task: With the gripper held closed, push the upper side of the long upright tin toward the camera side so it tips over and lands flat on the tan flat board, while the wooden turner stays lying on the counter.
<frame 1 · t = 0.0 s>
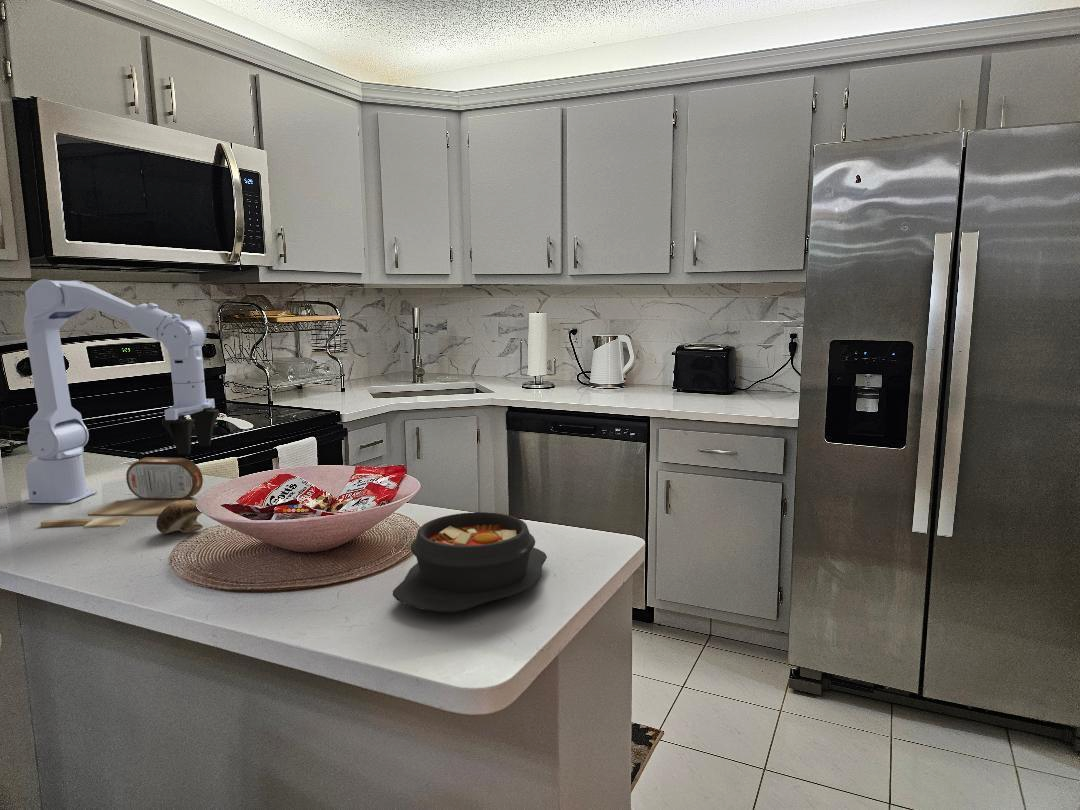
hand: (194, 449, 141), 10 cm above the countertop, fingers open, 7 cm apart
turner: (87, 524, 128), on the countertop
tan flat board: (145, 508, 137), on the countertop
mushroom: (182, 533, 123), on the countertop
tin: (165, 500, 143), on the countertop
casserole: (474, 587, 98), on the countertop
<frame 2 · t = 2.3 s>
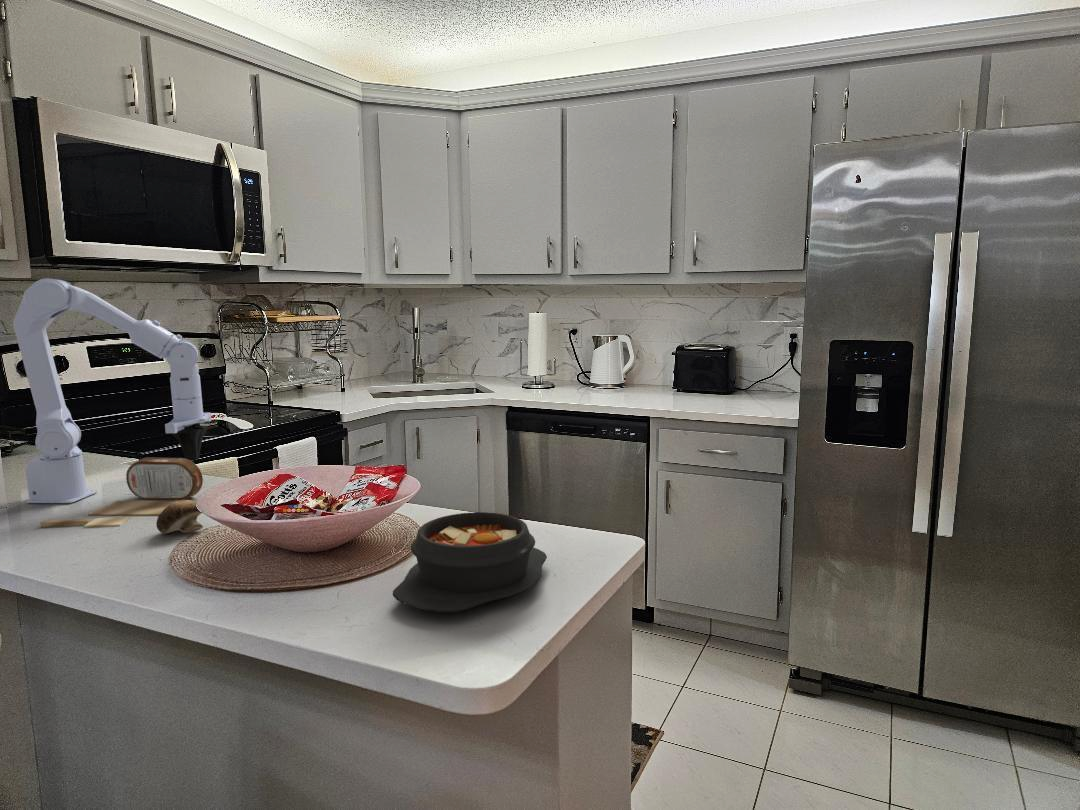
hand: (192, 460, 153), 5 cm above the countertop, fingers closed
nothing on the countertop moved.
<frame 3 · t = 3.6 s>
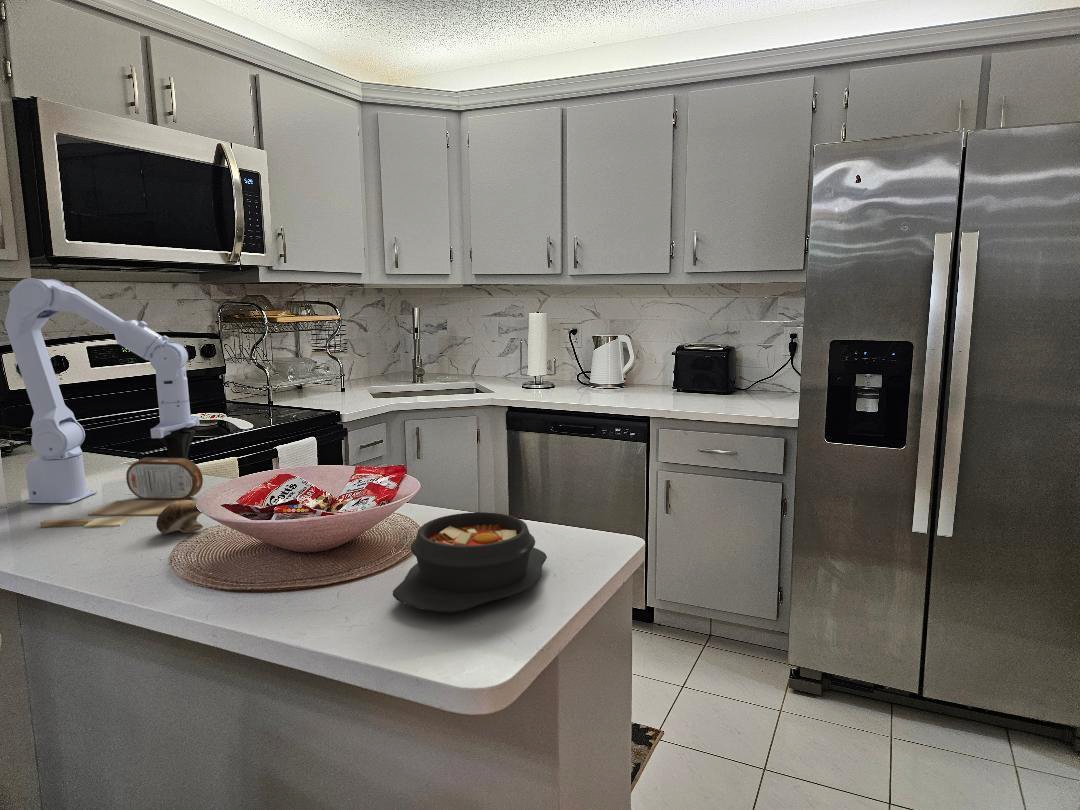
hand: (179, 465, 148), 5 cm above the countertop, fingers closed
nothing on the countertop moved.
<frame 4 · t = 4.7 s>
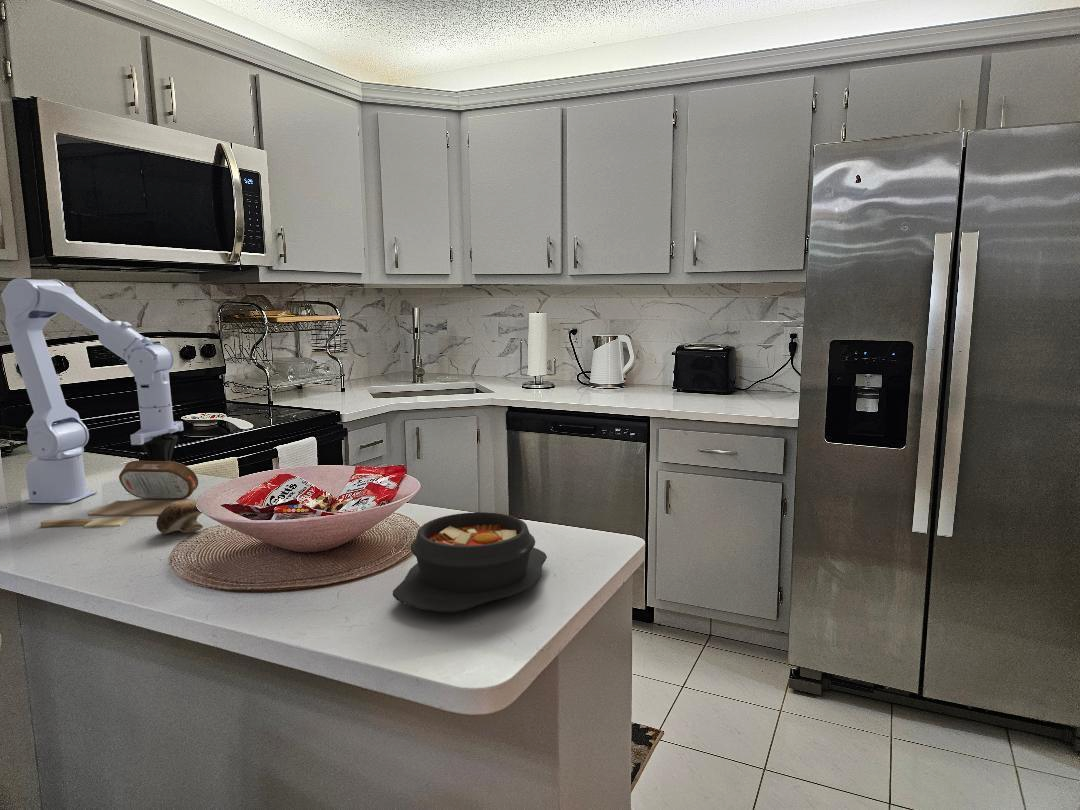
hand: (162, 472, 142), 5 cm above the countertop, fingers closed
tin: (165, 497, 143), on the countertop, touching gripper
everything else where it was.
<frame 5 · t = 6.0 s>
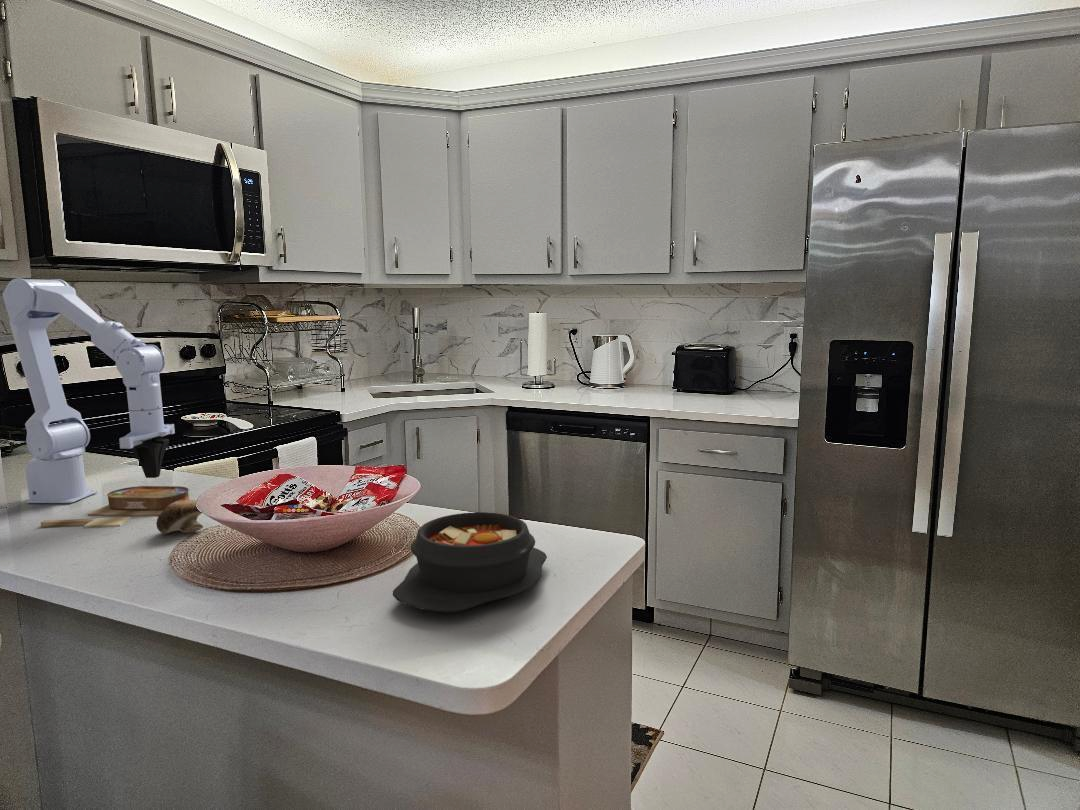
hand: (152, 477, 139), 5 cm above the countertop, fingers closed
tin: (162, 493, 142), point 1 cm above the countertop, touching tan flat board
everything else where it was.
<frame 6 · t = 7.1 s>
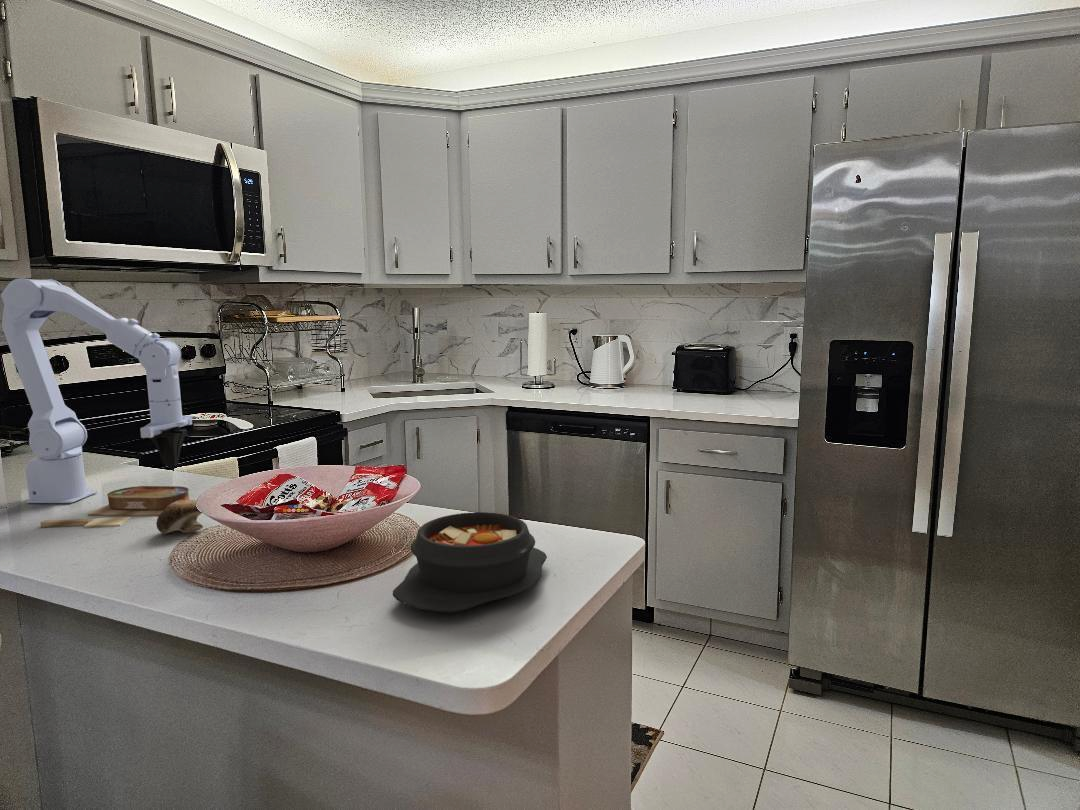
hand: (171, 465, 145), 6 cm above the countertop, fingers closed
nothing on the countertop moved.
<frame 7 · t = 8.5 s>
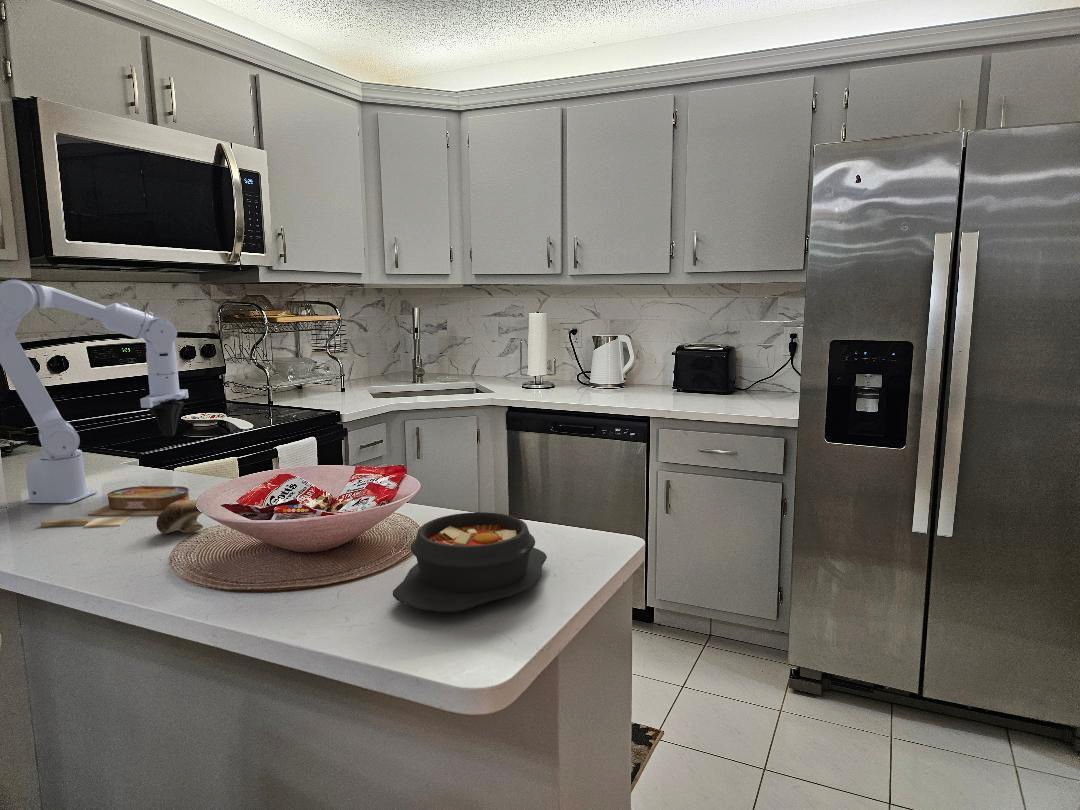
hand: (169, 435, 155), 10 cm above the countertop, fingers closed
nothing on the countertop moved.
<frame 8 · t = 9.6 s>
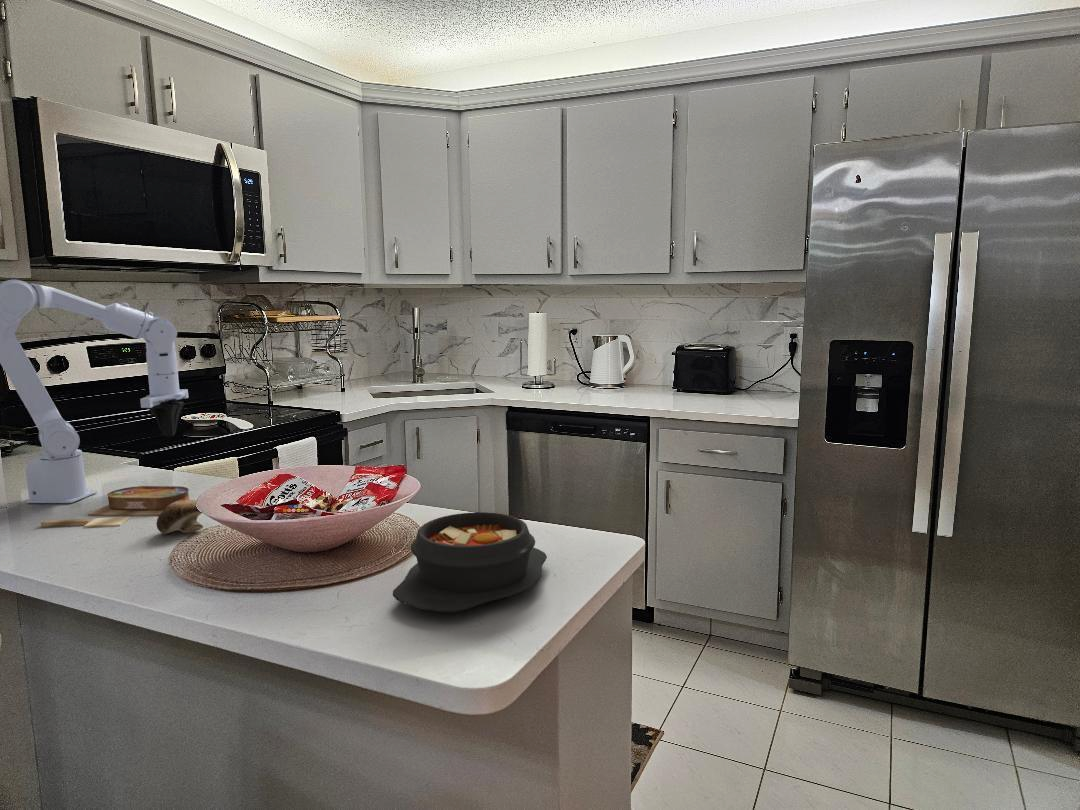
hand: (169, 435, 155), 10 cm above the countertop, fingers closed
nothing on the countertop moved.
at the end: tin tilted 85°; tin inside the target area (5.0 cm from its centre), point 1.3 cm above the countertop; turner moved 0.0 cm from its start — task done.
